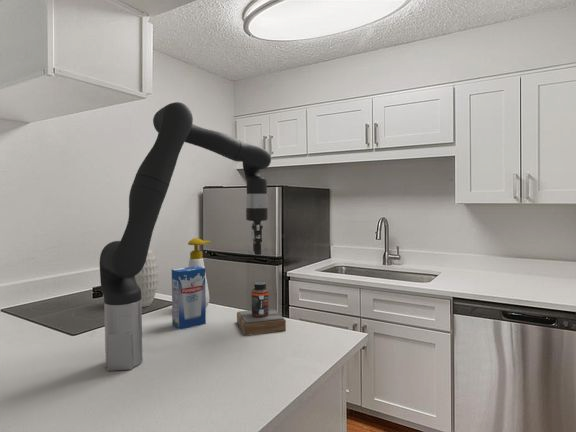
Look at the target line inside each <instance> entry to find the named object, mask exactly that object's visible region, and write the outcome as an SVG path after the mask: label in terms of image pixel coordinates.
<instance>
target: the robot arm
mask: <svg viewBox="0 0 576 432" xmlns="http://www.w3.org/2000/svg"><path fill="white" fill-rule="evenodd" d="M193 117H194V116H193V113H192V111H191V109H190V107H189V106H188V105H187V104H185V103H183V102H179V101H177V102H176V101H175V102H171V103H169V104H168V103H167V104H166V105H165V106H163V107H161V108H160V109H159V110H158V111H157V112H155V114H154V115H153V118H152V125H153V127H154V129H155V131H156V132H157V136H156V140H155V142H154V143H153V146H152V147H151V149H150V150H149V152H147V155H146V156H145V158H144V159H143V160H142V162H141V164H140V165H139V167H138V169H137V171H136V173H135V175H134V178H133V181H132V185H131V187H130V189H129V194H128V220H127V224H126V226H125V229H124V232H123V234H122V237H121V239H120V240H115V241H111V242H108V243H107V244H106V245H105V246H104V247H103V248H102V250H101V252H100V255H99V277H100V278H99V280H100V289H101V293H102V295H103V303H104V305H103V307H104V347H105V348H104V352H105V368H106V370H107V371H108V372H109V371H110V372H111V371H126V370H133V369H134V368H135V367H137V366H139V365H140V364H141V363H142V362H143V324H142V323H143V322H142V321H143V316H142V314H143V312H142V308H143V307H142V304H141V289H140V288H139V286H138V285H137V283H136V280H135V275H137V274H138V273H139V272H140V271H141V270H142V268H143V266H144V264H145V262H146V258H147V254H148V250H149V246H150V244H151V241H152V236H153V231H154V230H155V226H156V223H157V220H158V219H159V215H160V212H161V209H162V206H163V203H164V200H165V198H166V195H167V192H168V189H169V187H170V183H171V179H172V177H173V173H174V172H175V168H176V166H177V162H178V160H179V159H178V158H179V155H180V153H181V150H182V149H183V148H182V147H183V145H184V144H185V143H187V144H190V145H193V146H196V147H199V148H203V149H204V150H207V151H210V152H213V153H215V154H217V155H220V156H222V157H223V158H227V159H229V160H232V161H233V162H242V169H243V174H244V177H245V181H246V198H245V220H246V221H247V222H249V221H250V222H252V223H251V225H250V231H251V237H252V243H253V244H252V250H253V252H254V255H255V256H260V255H262V243H263V230H264V226H263V225H262V223H261V222H265V221H268V218H269V217H268V215H269V214H268V194H267V193H268V183H267V179H266V178H265V177H263V176H262V175H261V170H264V169H267V168H268V167H269V166H270V165H271V163H272V162H271V161H272V157H271V155H270V153H269V152H268V150H266V149H265V148H263V147H260V146H257V145H254V144H252V143H246V142H244V141H241V140H240V139H238V138H235V137H234V136H231V135H229V134H227V133H224V132H220V131H215V130H212V129H208V128H205V127H201V126H198V125H196V124H193V122H194V119H193Z"/></svg>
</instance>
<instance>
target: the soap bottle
mask: <svg viewBox="0 0 576 432" xmlns="http://www.w3.org/2000/svg"><path fill="white" fill-rule="evenodd" d="M210 243H211V241H210V240H203V239H201V238H195V237H194V238H192V239H190V240H189V241H188V242H187V244H188V246H194V247H193V248H194V249H193V250H191V251H190V252H189V260H188V266H187V267H194V266H198V267H202V268H205V269H206V266H205V262H204V261H205V260H204V258H203V252H202V251H201V250H199V246H201V245H203V246H204V245H205V244H206V245H207V244H210ZM205 300H206V309H207V307H208V306H209V302H210V291H209V285H208V280H207V275H206V272H205Z"/></svg>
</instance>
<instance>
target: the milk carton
mask: <svg viewBox="0 0 576 432" xmlns="http://www.w3.org/2000/svg"><path fill="white" fill-rule="evenodd" d="M205 273H206V267H205V268H202V267H198V266H194V267H188V266H187V267H181V268H180V267H179V268H172V269H171V303H172V304H171V314H172V316H171V317H172V320H171V321H172V323H171V324H172V327H175V328H177V330H180V331H181V330H185V329H188V328H192V327H193V328H194V327H197V326H201V325H206V324H207V320H206V319H207V318H206V316H207V315H206V311H207V310H206V309H207V308H206V300H205Z"/></svg>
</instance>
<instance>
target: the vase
mask: <svg viewBox="0 0 576 432" xmlns="http://www.w3.org/2000/svg"><path fill="white" fill-rule="evenodd" d="M135 280H136V283H137V285H138V286H139V288H140V289H141V304H142V308H145V307H146V306H147V307H150V306H151V305H152V303H153V300H154V299H155V296H156V294H157V290H158V285H159V266H158V261H157V257H156V255H155V253H154V250H152V247H151V246H150V245H149V250H148V254H147V258H146V262H145V264H144V266H143V268H142V270H141V271H140V272H139V273H138V274H137V275H135Z"/></svg>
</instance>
